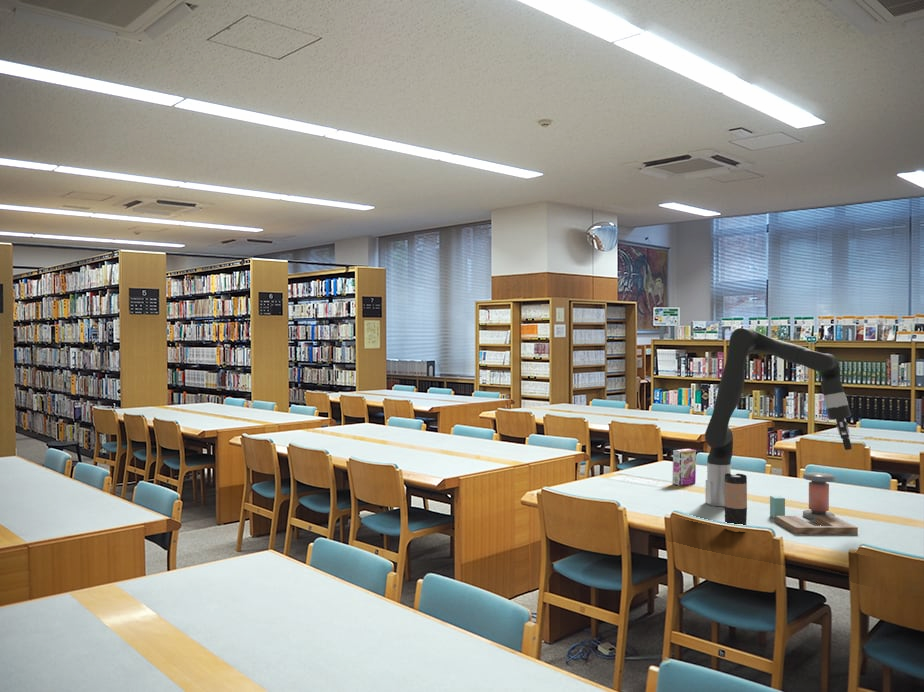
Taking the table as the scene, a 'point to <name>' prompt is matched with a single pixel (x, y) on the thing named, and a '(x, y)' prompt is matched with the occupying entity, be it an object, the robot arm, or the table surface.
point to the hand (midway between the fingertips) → (848, 448)
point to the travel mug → (735, 498)
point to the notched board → (827, 526)
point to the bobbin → (818, 494)
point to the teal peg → (777, 506)
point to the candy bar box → (684, 467)
